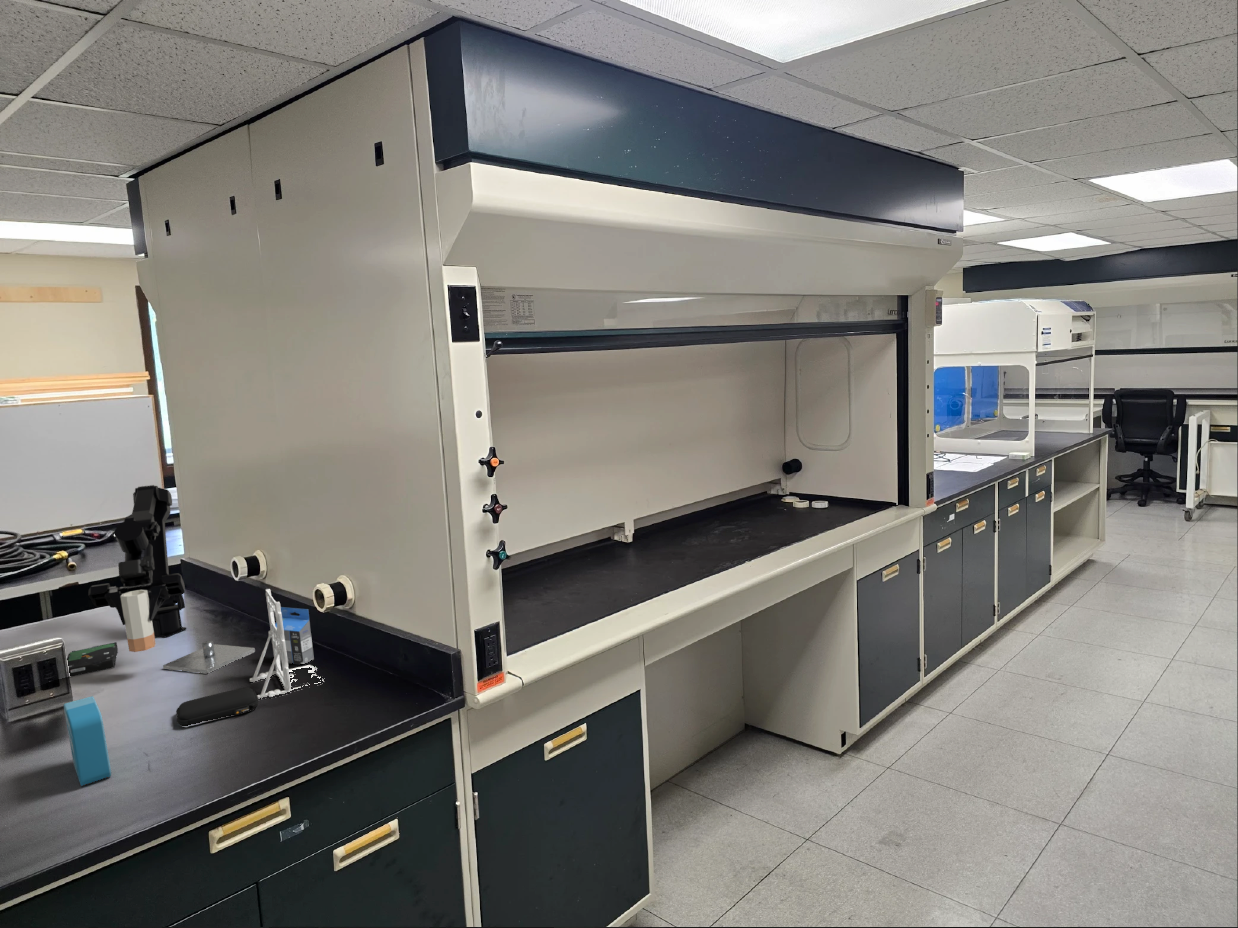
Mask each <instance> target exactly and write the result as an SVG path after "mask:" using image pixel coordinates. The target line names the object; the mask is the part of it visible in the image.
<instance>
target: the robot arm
mask: <svg viewBox="0 0 1238 928" xmlns="http://www.w3.org/2000/svg"><path fill="white" fill-rule="evenodd" d="M132 498H133V499H132V500H133V509H132V512H131V514H129V515H127V516H126V517H125V518H124V519H123V521H122V522H121V523H120V524H118V525H117V526H116V528H115V529H114V536H115V538H116V541H117V543H118V545H119V547H120V549H121V552H123V553H124V561H119V562H118V563H117V564H118V576H119V578H120V583H121V585H122V584H123V586H120V587H119V586H116V585H115V586H111V584H110V583H100V584H94V585H91V586H90V587H89V589H88V590H87V591H88V594H87V596H88V597H89V600H90V601H91V603H92V606H94V607H95V608H102V607H110V608H115V609H116V611H117V612H118V617H119V619H120V621H121V623H122V625H123V626H125V620H124V615H123V609H122V603H121V597H120V596H121V595H122V594H124V593H127V592H130V591H136V590H147V592H148V598H149V605H150V610H149V619H150V621H152V624H153V630H154V637H161V638H168V637H171V636H173V635H176V634H178V633H180V632H183V631H186V630H187V627H185V626H183V624H182V618H181V611H182V609H185V608H186V605H185V599H184V596H183V595H184V594H185V593H186V587H185V582H184V579H183V577H182V575H181V574H180V573H179V572H178V573H176V572H175V573H169V572H170V571H169V562H168V560H169V559H168V548H167V547H168V546H167V535H166V534H167V533H166V521H167V520H168V518H169V516H170V515H171V507H172V506H173V498H172V494H171V492H170V490H168V489H167V488H166V489H165V488H161V487H159V486H158V485H154V484H151V485H144V486H143V485H142V486H138V487H135V489H134V492H133V493H132Z"/></svg>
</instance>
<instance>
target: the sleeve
mask: <svg viewBox="0 0 1238 928" xmlns="http://www.w3.org/2000/svg"><path fill="white" fill-rule="evenodd" d="M120 597H121V603H122V609H123V615H124V620H125V625H124V626H125V627H124V628H125V633H126V639H127V645H128V651H129V652H132V653H138V652H145V651H147V650H150V649H153V648H155V647H156V638H155V637H156V636H154V630H153V624H152V621H150V619H149V610H150V605H149V598H148V592H147V590H136V591H130V592H127V593H124V594H122V595H121V596H120Z"/></svg>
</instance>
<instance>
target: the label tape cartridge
mask: <svg viewBox="0 0 1238 928" xmlns="http://www.w3.org/2000/svg"><path fill="white" fill-rule="evenodd" d="M280 607H281V614H282V621H283V629H284V638H285V644H286V652H287V660H288V664H292V663H293V665H300V664H305V663H307V664H308V662H309V663H311V662H312V661H314V660H315V657H314V648H313V642H312V641H313V640H312V633H311V631H312V630H311V622H310V614H309V613H310V612H309V610H310V609H308V608H297V607H284V606H280ZM294 613H296V614H299V615H295V614H294ZM275 627H276V628H277V622H275ZM279 658H280V656H279ZM311 660H312V661H311ZM310 661H311V662H310ZM280 663H282V662H281V658H280ZM305 665H306V664H305Z"/></svg>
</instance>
